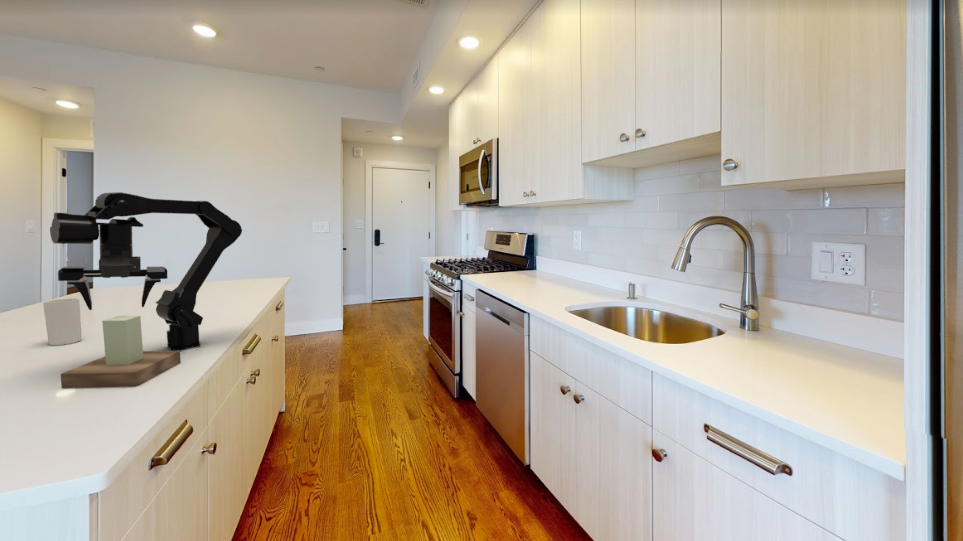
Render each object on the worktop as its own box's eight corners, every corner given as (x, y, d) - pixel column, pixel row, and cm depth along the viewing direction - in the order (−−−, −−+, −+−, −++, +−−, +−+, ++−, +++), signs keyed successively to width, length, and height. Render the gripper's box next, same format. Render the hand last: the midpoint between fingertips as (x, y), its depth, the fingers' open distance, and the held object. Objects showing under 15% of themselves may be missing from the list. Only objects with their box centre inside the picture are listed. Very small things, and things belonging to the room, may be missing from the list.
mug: (83, 342, 106) (80, 300, 105) (47, 347, 101) (43, 303, 100) (81, 335, 113) (77, 295, 112) (47, 339, 108) (42, 298, 107)
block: (122, 358, 87) (118, 315, 86) (143, 357, 88) (140, 315, 86) (106, 365, 83) (102, 320, 81) (128, 364, 83) (124, 320, 82)
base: (117, 363, 91) (116, 351, 91) (180, 362, 93) (180, 350, 93) (61, 387, 78) (60, 373, 77) (137, 386, 79) (136, 372, 79)
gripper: (53, 244, 79) (55, 317, 80) (168, 247, 92) (169, 310, 93) (60, 242, 87) (62, 309, 88) (165, 245, 100) (166, 303, 101)
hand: (117, 308), depth 92 cm, fingers open, 9 cm apart
